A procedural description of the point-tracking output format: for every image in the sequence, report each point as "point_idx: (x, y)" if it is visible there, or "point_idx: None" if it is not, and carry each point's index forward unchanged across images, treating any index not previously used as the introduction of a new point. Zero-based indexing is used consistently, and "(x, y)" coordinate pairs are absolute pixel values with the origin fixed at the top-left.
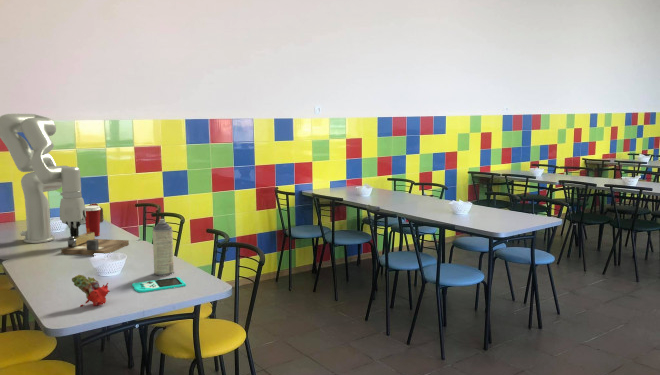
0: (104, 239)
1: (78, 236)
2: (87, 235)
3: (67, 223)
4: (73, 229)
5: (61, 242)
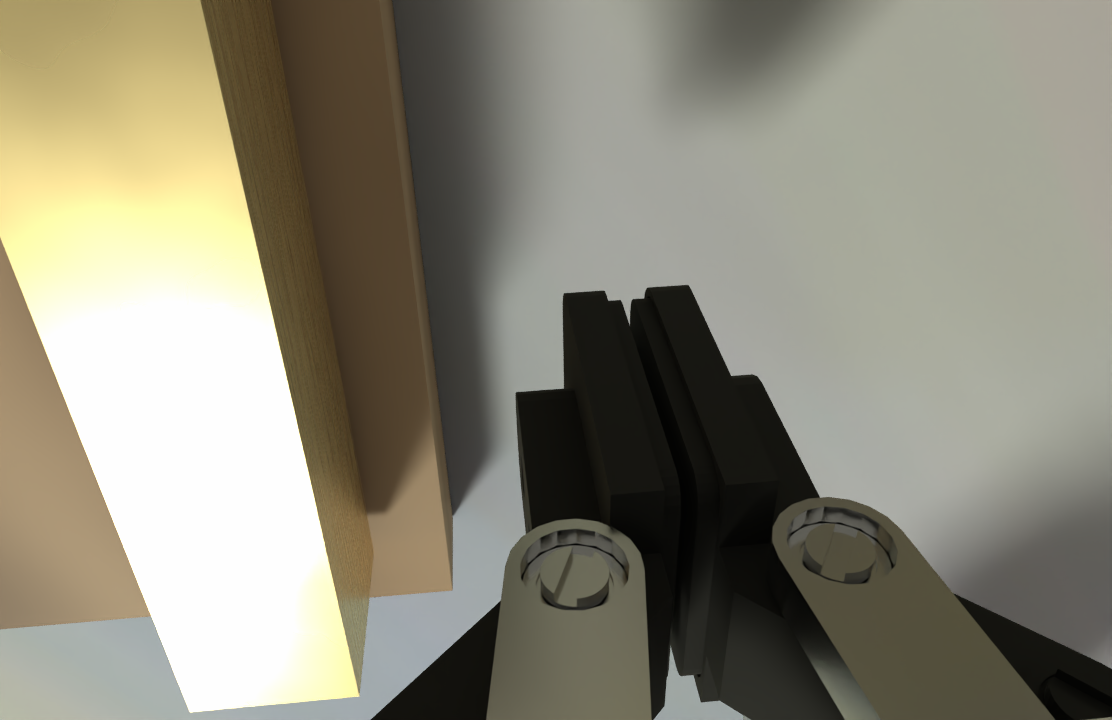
0: (44, 613)
1: (121, 82)
2: (86, 412)
3: (1046, 689)
4: (607, 459)
5: (1059, 433)
